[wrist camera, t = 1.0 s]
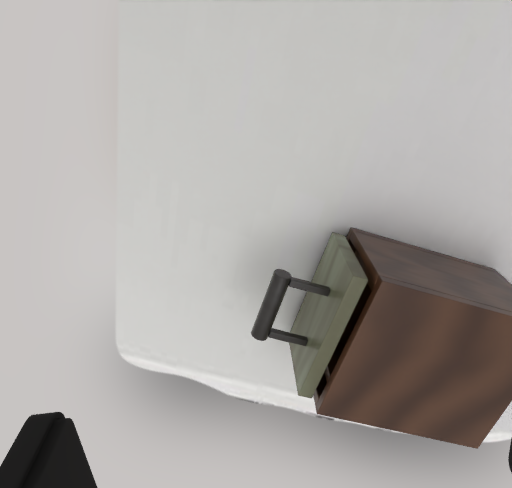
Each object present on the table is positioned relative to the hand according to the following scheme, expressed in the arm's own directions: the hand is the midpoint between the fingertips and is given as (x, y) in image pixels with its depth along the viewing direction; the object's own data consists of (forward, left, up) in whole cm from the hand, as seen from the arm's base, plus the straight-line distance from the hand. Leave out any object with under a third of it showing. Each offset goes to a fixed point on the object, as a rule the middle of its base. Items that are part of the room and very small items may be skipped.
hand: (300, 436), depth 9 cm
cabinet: (+11, +18, -29) cm, 36 cm away
